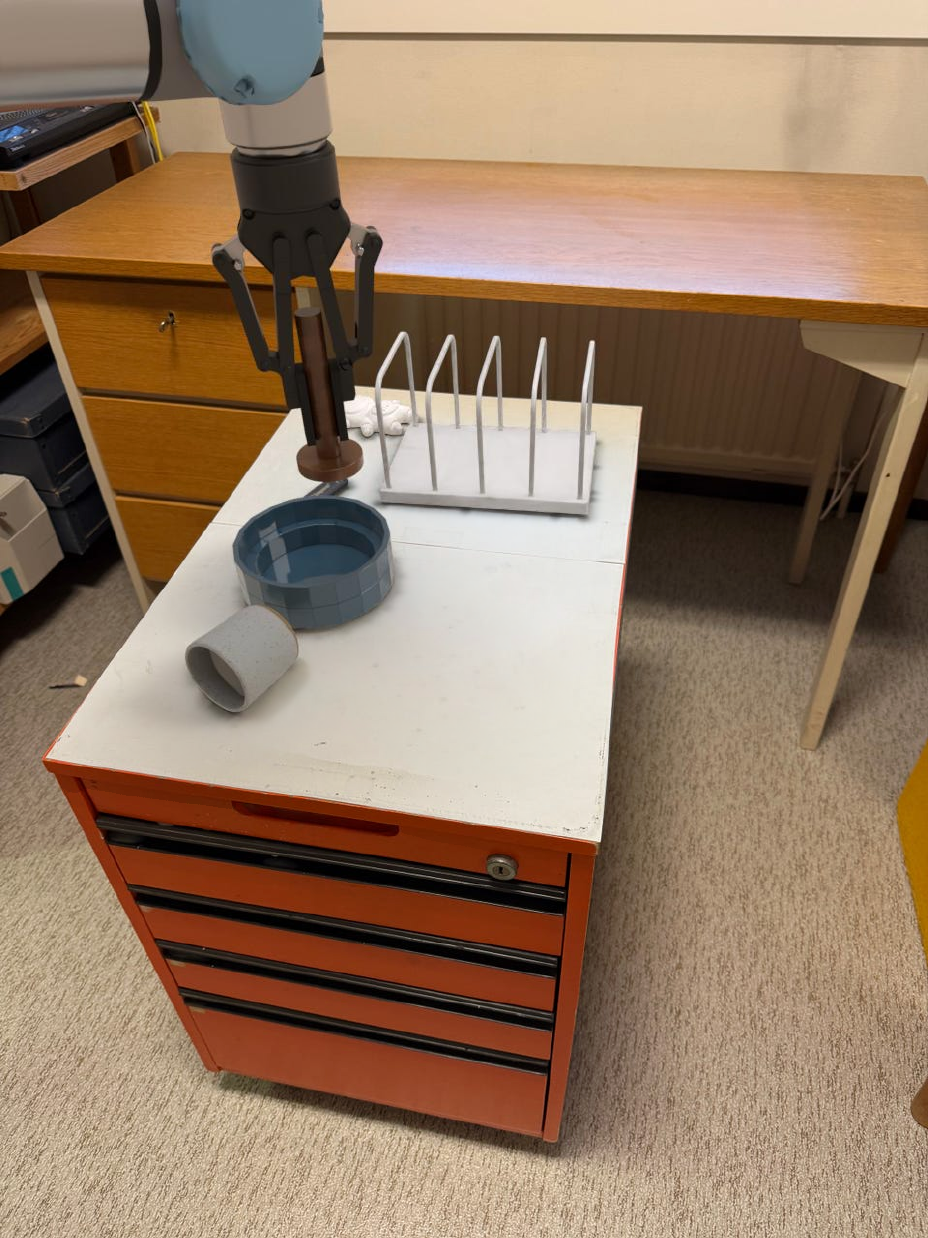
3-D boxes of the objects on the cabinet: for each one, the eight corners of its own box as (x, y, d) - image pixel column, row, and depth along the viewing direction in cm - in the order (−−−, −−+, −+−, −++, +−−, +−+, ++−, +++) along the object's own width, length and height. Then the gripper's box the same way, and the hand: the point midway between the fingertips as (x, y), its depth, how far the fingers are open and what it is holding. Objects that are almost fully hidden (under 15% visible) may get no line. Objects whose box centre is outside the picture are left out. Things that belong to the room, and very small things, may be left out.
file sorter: (596, 443, 116) (604, 328, 106) (587, 518, 103) (596, 396, 93) (410, 433, 120) (401, 321, 109) (379, 504, 107) (366, 385, 97)
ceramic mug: (310, 669, 85) (297, 608, 80) (254, 724, 80) (235, 662, 75) (229, 635, 90) (211, 576, 85) (170, 685, 85) (148, 625, 80)
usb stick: (302, 524, 104) (300, 513, 103) (285, 518, 105) (283, 507, 104) (351, 486, 110) (350, 475, 109) (335, 480, 111) (333, 470, 110)
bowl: (249, 646, 88) (237, 600, 84) (239, 553, 100) (228, 509, 96) (407, 616, 91) (402, 570, 87) (379, 529, 103) (374, 485, 99)
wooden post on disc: (301, 487, 78) (272, 331, 68) (295, 453, 82) (267, 302, 73) (368, 476, 79) (349, 321, 69) (358, 443, 83) (339, 293, 74)
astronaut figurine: (388, 445, 117) (386, 424, 116) (320, 422, 123) (317, 403, 121) (427, 417, 123) (425, 397, 121) (360, 397, 128) (358, 378, 126)
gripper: (377, 121, 67) (402, 404, 82) (172, 140, 65) (238, 428, 80) (395, 144, 61) (418, 443, 77) (171, 166, 59) (242, 470, 74)
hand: (326, 435), depth 78 cm, fingers closed on wooden post on disc, 2 cm apart
